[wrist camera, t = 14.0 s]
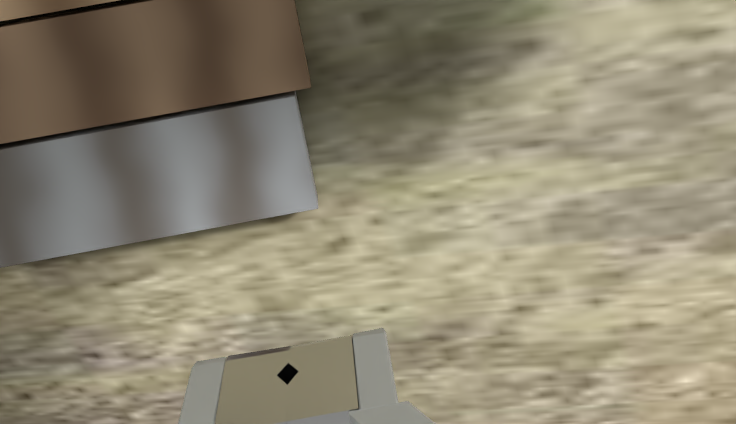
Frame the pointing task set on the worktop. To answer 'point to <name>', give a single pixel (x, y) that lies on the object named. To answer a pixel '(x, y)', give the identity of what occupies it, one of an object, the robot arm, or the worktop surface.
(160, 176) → the grey plank
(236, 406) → the robot arm
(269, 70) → the walnut strip
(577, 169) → the worktop surface
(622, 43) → the worktop surface
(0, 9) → the smoked oak plank
